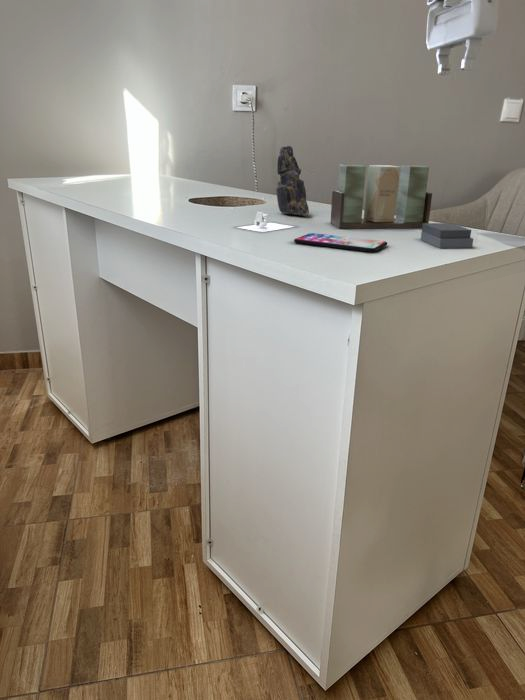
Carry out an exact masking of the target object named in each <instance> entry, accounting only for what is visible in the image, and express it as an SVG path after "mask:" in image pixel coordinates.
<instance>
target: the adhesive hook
mask: <svg viewBox="0 0 525 700" xmlns="http://www.w3.org/2000/svg"><path fill="white" fill-rule="evenodd" d="M267 216H269V214H268V213H264V212H263V211H257V212H256V214H255V220H254V221H253V223H254V224H252V225H245V226H238V227H236V228H237V229H244V230H248V231H254V232H258V233H266V232H273V231H278V230H284V229H291V228H295V226H294V225H287V224H282V223H276V222H267Z"/></svg>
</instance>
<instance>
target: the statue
mask: <svg viewBox="0 0 525 700" xmlns="http://www.w3.org/2000/svg"><path fill="white" fill-rule="evenodd" d="M276 168H277V169H276V171H277V175H278V176H279V179H280V181H278V182H277V187H276V188H275V191H276V199H277V206H278V209H279V212H280V213H282V214H286V215H296V216H309V213H310V209H309V205H308V201H307V191H306V187H305V181H304V180H303V179H301V178H300V175H301V173H302V168H299V164H298V161H297V159H296V157H295V156H294V149H293V147H292V145H287V146H282V147H281V148H280V149H279V155H278V157H277V167H276Z"/></svg>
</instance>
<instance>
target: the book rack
mask: <svg viewBox="0 0 525 700" xmlns="http://www.w3.org/2000/svg"><path fill="white" fill-rule="evenodd" d="M366 172H367V166H366V165H361V164H339V170H338V181H337V182H338V183H337V184H338V185H337V189H332V191H331V209H330V224H331V225H332V226H334V227H336V228H338V229H339V230H347V229H354V230H355V229H358V230H359V229H361V230H362V229H366V230H367V229H370V230H371V229H374V230H375V229H422V225H423V223H430V214H431V209H432V208H431V206H432V201H433V200H432V198H433V193H432V192H429V191H427V188H428V181H429V174H430V173H429V172H430V167H429V166H426V165H425V166H424V165H413V164H412V165H411V164H410V165H409V164H408V165H406V164H405V165H404V164H403V165H400V174H399V183H398V191H397V200H396V209H395V217H394V222H371V221H367V220H364V218H363V210H364V209H363V208H364V197H365V196H364V195H365V185H366Z"/></svg>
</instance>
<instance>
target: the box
mask: <svg viewBox="0 0 525 700" xmlns="http://www.w3.org/2000/svg"><path fill="white" fill-rule="evenodd" d="M400 171H401V166H399V165H390V164H387V165H386V164H370V165H368V170H367V180H366V188H365V189H366V191H365V201H364V209H363V219H364V220H367V221H371V222H394V218H396V209H397V200H398V191H399V181H400Z"/></svg>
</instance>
